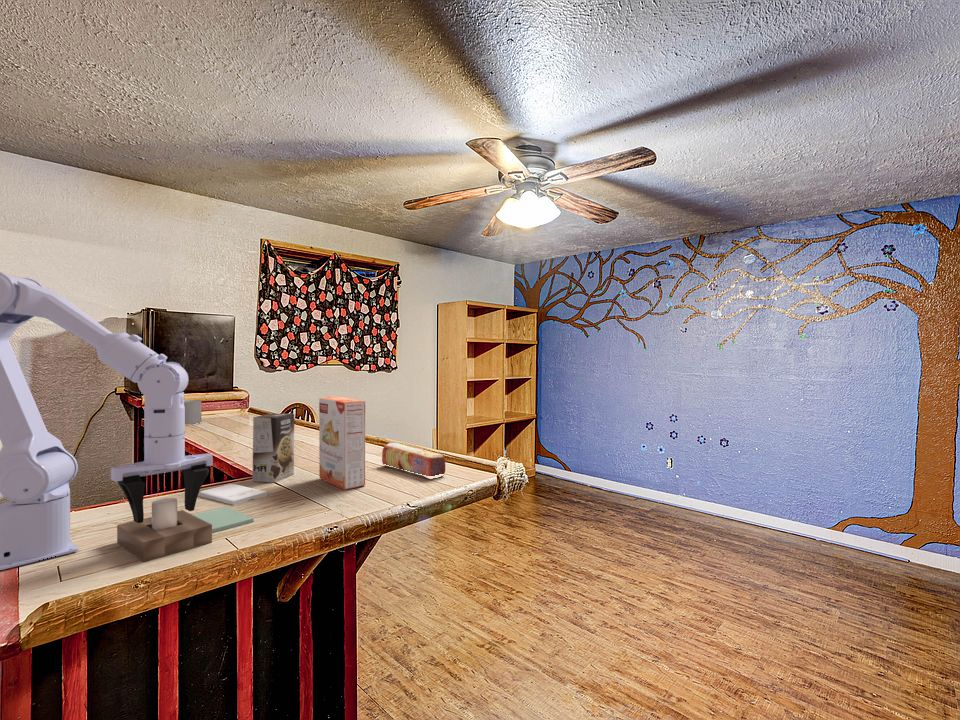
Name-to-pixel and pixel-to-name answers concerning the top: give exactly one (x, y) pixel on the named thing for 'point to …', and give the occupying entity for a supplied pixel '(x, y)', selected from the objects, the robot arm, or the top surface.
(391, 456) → the snack package
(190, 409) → the coffee mug
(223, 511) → the mat
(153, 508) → the plug
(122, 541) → the brown socket block
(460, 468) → the top surface
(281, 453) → the coffee box
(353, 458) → the cracker box
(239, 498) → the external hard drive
